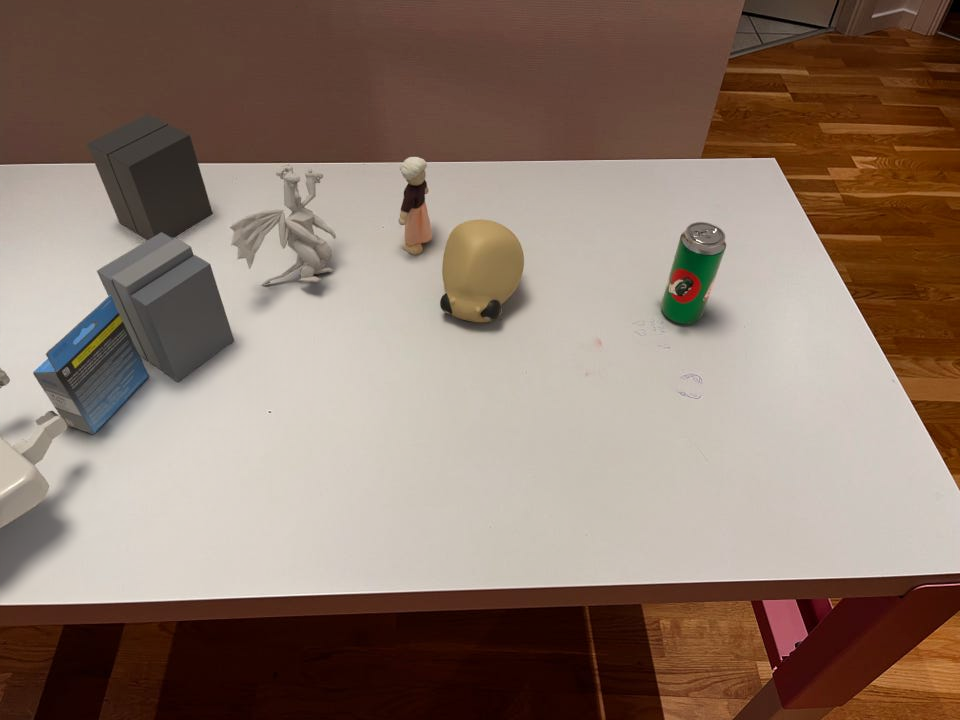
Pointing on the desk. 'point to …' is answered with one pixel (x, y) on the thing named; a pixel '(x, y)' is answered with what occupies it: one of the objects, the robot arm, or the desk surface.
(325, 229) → the dragon figurine
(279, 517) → the desk surface
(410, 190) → the grandmother figurine
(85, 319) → the blue retail box
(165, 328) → the grey upright block
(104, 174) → the dark grey block
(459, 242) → the tan toy animal
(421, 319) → the desk surface
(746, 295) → the desk surface
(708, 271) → the soda can
